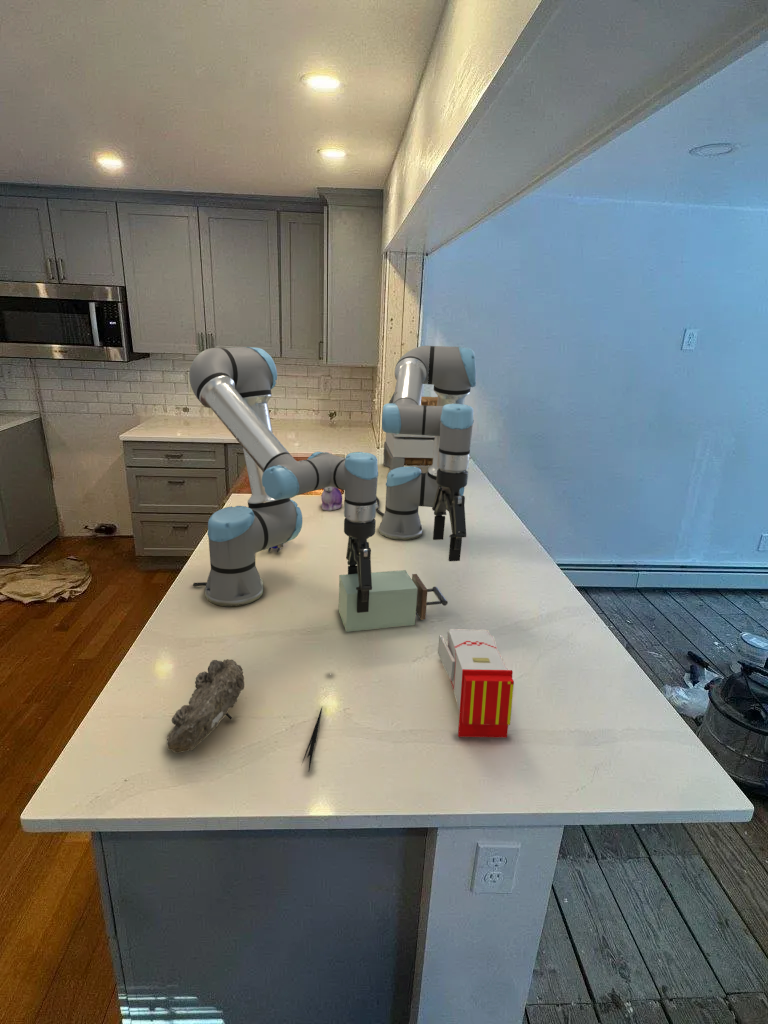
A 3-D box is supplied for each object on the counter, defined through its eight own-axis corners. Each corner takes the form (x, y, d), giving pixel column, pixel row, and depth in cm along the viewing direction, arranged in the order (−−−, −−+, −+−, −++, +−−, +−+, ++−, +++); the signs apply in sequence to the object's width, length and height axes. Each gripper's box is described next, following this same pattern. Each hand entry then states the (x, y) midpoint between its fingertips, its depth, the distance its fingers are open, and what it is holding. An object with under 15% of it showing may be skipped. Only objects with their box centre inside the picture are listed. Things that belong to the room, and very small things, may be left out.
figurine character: (283, 559, 179) (290, 536, 192) (282, 538, 176) (289, 516, 189) (262, 558, 179) (270, 535, 192) (261, 537, 175) (269, 515, 189)
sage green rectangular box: (403, 605, 152) (405, 570, 149) (414, 625, 143) (417, 588, 139) (338, 610, 148) (339, 574, 144) (346, 631, 138) (347, 593, 135)
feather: (331, 679, 122) (336, 673, 122) (307, 777, 96) (313, 769, 95) (324, 675, 122) (329, 669, 121) (298, 772, 95) (304, 764, 95)
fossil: (192, 660, 117) (244, 628, 112) (224, 691, 120) (276, 661, 115) (142, 746, 98) (202, 712, 93) (182, 779, 101) (242, 748, 96)
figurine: (325, 512, 217) (325, 474, 211) (315, 504, 225) (315, 467, 220) (347, 509, 221) (348, 472, 216) (337, 501, 229) (337, 465, 224)
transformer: (382, 463, 289) (386, 382, 275) (445, 464, 293) (451, 384, 279) (390, 482, 257) (394, 392, 243) (460, 483, 261) (468, 394, 247)
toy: (488, 613, 130) (523, 677, 101) (484, 667, 133) (517, 744, 104) (435, 612, 130) (455, 676, 101) (432, 666, 133) (451, 743, 103)
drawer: (435, 600, 153) (438, 572, 151) (447, 617, 145) (450, 587, 142) (355, 607, 148) (356, 578, 145) (362, 625, 140) (363, 595, 137)
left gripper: (387, 535, 125) (383, 622, 132) (364, 501, 146) (362, 577, 154) (354, 537, 123) (352, 625, 130) (335, 502, 144) (334, 580, 152)
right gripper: (486, 483, 127) (476, 569, 134) (451, 456, 150) (445, 531, 157) (454, 484, 125) (446, 571, 133) (424, 456, 148) (419, 531, 155)
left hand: (357, 600), depth 142 cm, fingers open, 11 cm apart
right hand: (445, 549), depth 145 cm, fingers open, 13 cm apart
